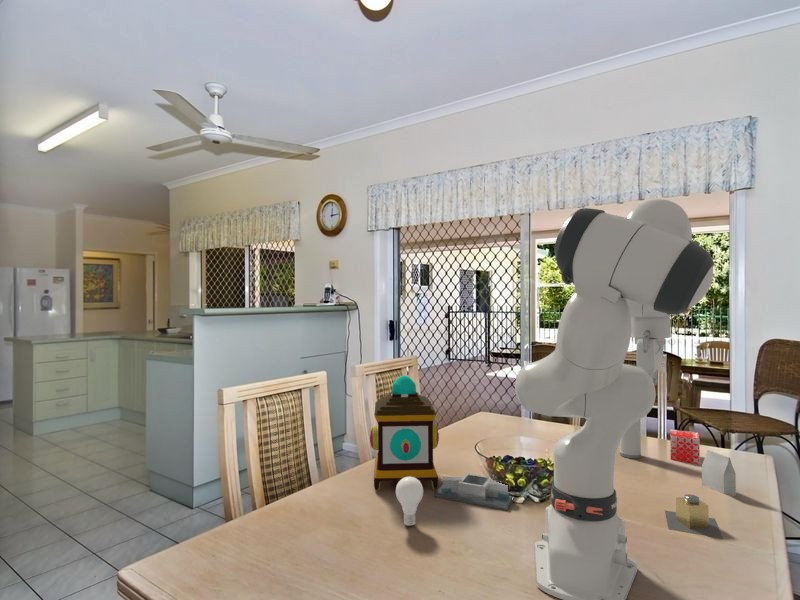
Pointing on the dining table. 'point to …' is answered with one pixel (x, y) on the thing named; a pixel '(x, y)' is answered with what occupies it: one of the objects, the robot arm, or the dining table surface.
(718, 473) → the white house block
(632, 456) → the travel mug
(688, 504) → the block
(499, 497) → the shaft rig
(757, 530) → the dining table surface
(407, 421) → the decorative lantern
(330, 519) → the dining table surface
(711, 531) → the rubber mat
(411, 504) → the lightbulb
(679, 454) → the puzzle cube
